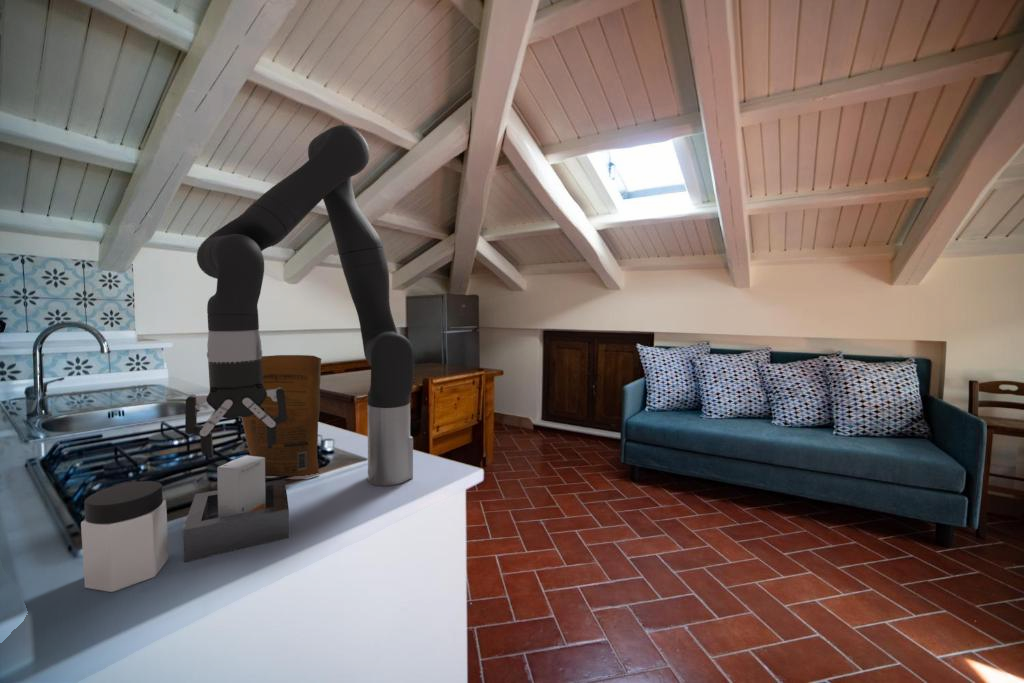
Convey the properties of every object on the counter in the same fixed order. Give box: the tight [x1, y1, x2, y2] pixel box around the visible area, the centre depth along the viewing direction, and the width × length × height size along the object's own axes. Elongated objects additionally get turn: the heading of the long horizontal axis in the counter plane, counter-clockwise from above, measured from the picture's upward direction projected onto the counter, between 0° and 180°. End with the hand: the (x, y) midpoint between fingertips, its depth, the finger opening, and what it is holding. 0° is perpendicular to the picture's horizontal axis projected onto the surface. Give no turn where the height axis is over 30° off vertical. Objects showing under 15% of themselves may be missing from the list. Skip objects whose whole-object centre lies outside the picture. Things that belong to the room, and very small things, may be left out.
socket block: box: [182, 479, 290, 563], centre depth 72 cm, size 14×14×5 cm
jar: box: [80, 480, 170, 593], centre depth 60 cm, size 9×8×12 cm
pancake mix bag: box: [240, 354, 322, 476], centre depth 94 cm, size 7×19×28 cm, turn 87°
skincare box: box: [216, 454, 266, 518], centre depth 72 cm, size 6×4×12 cm
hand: (240, 451), depth 71 cm, fingers open, 8 cm apart
